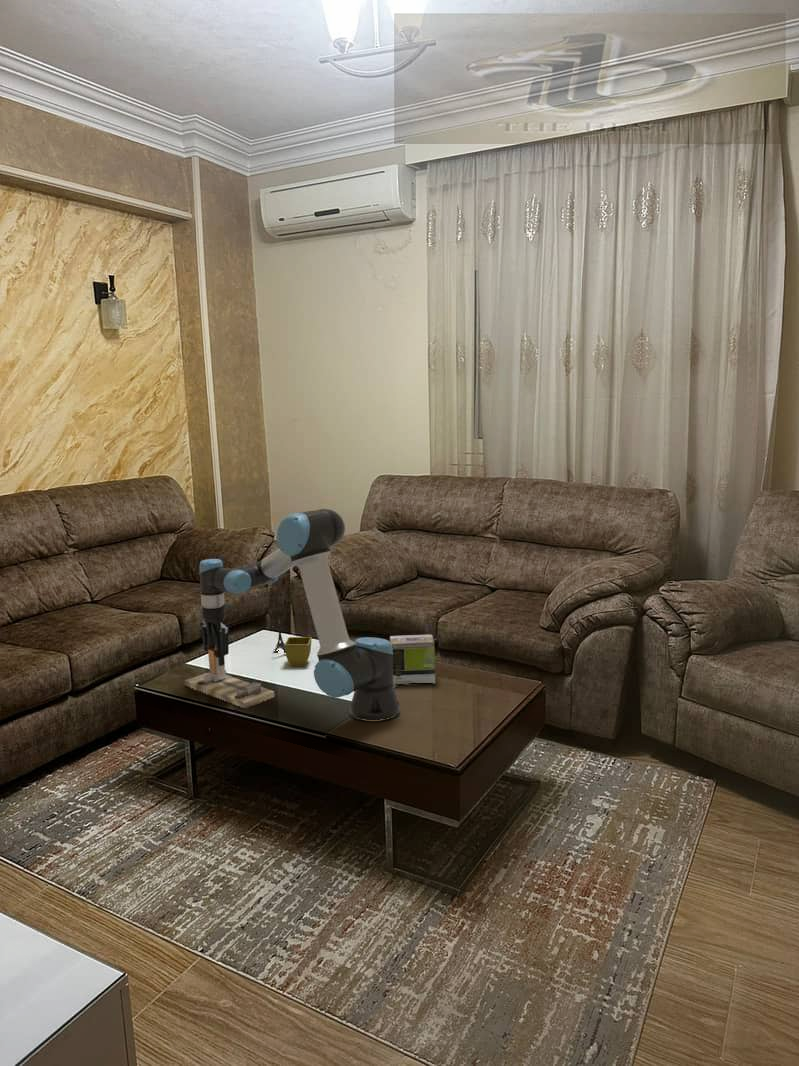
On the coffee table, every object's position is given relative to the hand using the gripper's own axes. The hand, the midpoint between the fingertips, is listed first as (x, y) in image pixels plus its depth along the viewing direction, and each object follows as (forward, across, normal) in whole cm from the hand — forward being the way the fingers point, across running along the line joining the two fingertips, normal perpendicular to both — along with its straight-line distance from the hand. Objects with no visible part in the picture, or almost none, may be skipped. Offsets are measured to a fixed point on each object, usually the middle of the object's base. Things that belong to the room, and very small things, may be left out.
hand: (217, 673), depth 260 cm
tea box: (+5, -48, -45) cm, 66 cm away
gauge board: (+5, -7, +1) cm, 9 cm away
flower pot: (+5, -5, -32) cm, 33 cm away
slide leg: (+2, 0, +2) cm, 3 cm away
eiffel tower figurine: (+5, +11, -38) cm, 40 cm away
